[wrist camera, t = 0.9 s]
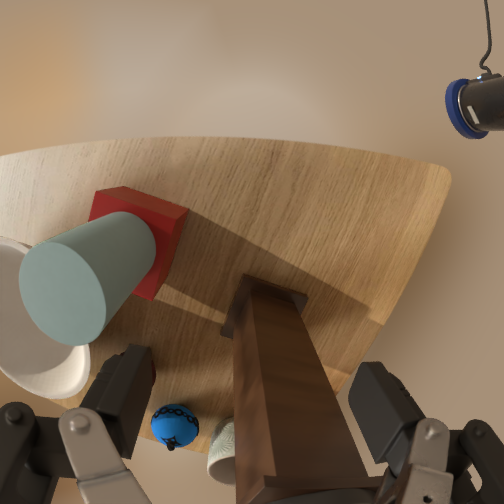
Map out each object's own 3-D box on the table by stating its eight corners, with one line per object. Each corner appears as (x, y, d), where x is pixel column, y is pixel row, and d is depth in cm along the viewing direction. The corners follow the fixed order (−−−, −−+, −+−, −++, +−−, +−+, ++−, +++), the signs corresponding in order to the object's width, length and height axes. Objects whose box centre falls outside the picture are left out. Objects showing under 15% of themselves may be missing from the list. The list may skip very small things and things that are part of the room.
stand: (243, 273, 42) (264, 486, 11) (306, 294, 43) (406, 481, 12) (220, 331, 44) (210, 536, 13) (280, 348, 46) (328, 537, 15)
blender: (123, 186, 38) (15, 208, 15) (189, 208, 39) (133, 257, 17) (106, 251, 40) (10, 324, 18) (168, 275, 41) (110, 376, 19)
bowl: (93, 210, 38) (57, 222, 28) (132, 369, 45) (116, 407, 36) (-17, 234, 37) (-51, 247, 28) (24, 360, 44) (1, 387, 35)
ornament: (147, 398, 47) (135, 437, 38) (187, 390, 47) (180, 431, 37) (169, 427, 50) (161, 464, 40) (207, 420, 49) (205, 460, 40)
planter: (283, 416, 50) (292, 459, 39) (258, 450, 53) (262, 490, 42) (221, 402, 48) (220, 448, 38) (202, 439, 51) (198, 480, 40)
